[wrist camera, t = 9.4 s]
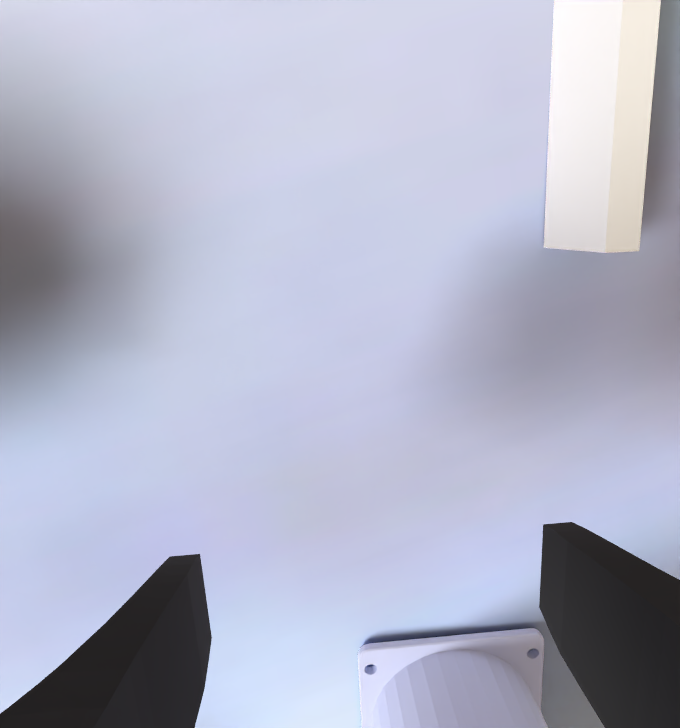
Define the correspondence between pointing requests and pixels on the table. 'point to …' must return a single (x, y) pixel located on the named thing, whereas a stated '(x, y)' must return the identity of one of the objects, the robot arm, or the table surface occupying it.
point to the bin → (599, 123)
